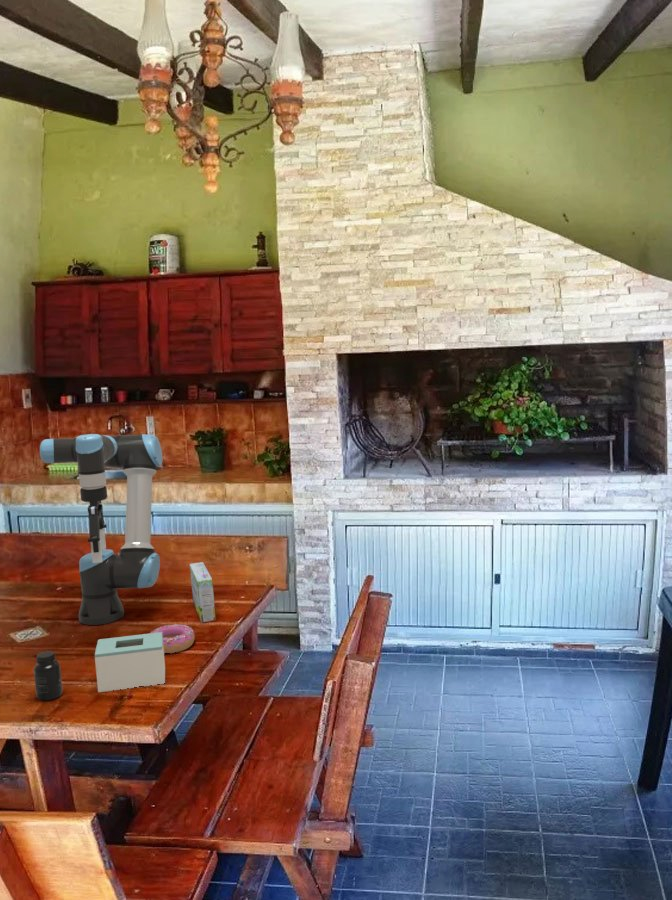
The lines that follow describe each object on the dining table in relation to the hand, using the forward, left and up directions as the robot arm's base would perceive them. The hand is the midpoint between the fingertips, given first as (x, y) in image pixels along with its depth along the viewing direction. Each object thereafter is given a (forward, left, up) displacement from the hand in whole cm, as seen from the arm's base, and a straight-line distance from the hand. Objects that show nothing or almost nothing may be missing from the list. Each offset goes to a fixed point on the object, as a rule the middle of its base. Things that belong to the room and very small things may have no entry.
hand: (99, 556), depth 234 cm
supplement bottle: (+23, -14, -32) cm, 42 cm away
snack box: (-29, +30, -32) cm, 53 cm away
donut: (-2, +19, -32) cm, 37 cm away
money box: (+20, +8, -32) cm, 38 cm away
